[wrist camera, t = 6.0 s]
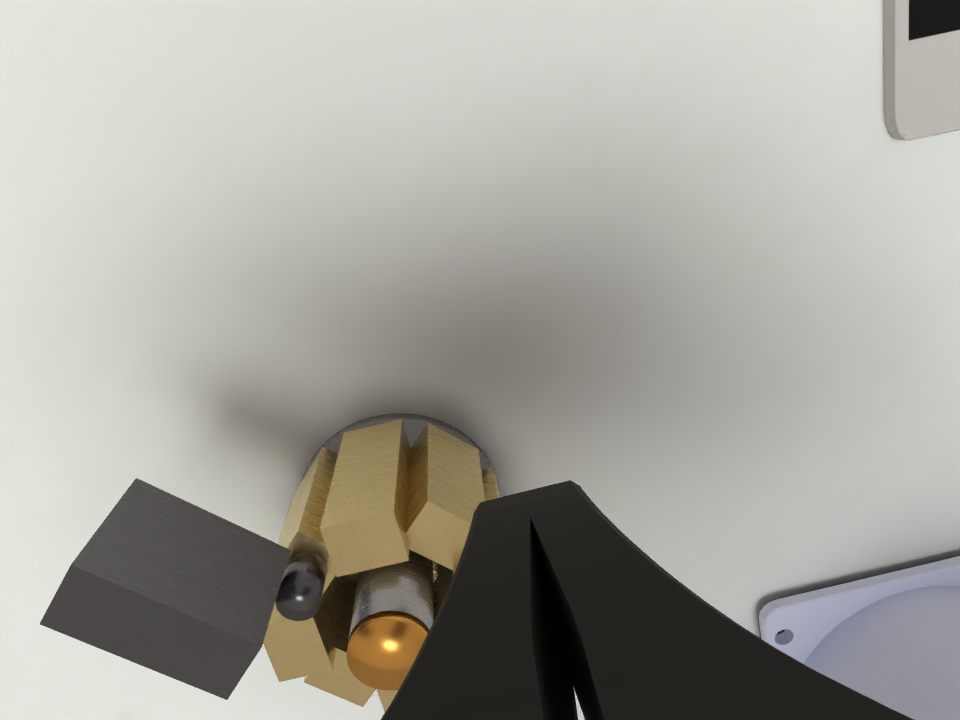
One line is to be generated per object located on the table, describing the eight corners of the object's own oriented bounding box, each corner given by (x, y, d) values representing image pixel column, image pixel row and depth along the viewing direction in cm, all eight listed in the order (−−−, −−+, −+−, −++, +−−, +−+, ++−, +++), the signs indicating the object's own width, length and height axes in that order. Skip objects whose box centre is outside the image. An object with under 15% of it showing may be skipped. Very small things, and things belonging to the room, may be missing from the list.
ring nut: (540, 482, 18) (596, 685, 12) (434, 627, 19) (436, 875, 13) (239, 321, 16) (125, 463, 10) (145, 493, 17) (-7, 711, 11)
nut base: (518, 561, 19) (548, 724, 14) (335, 605, 20) (303, 782, 15) (473, 392, 18) (490, 512, 13) (272, 442, 18) (210, 579, 13)
